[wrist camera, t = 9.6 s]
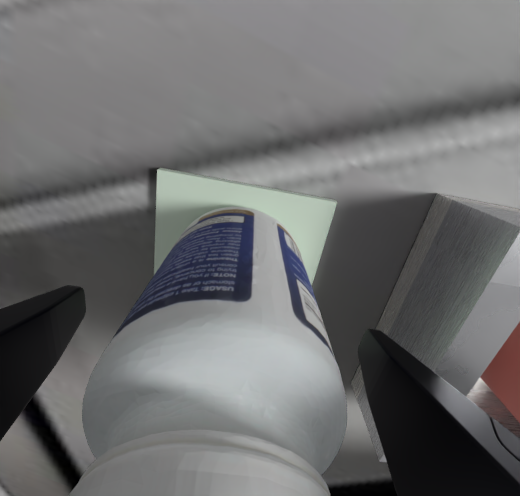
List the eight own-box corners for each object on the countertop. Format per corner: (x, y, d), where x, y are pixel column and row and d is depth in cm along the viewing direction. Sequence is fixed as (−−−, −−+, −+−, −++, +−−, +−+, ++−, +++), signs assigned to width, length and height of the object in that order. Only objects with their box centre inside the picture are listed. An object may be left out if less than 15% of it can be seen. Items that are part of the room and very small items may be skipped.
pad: (294, 332, 14) (295, 337, 14) (155, 312, 14) (152, 318, 13) (334, 199, 11) (337, 202, 11) (160, 167, 11) (157, 169, 10)
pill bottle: (161, 292, 13) (-61, 692, 4) (197, 182, 11) (-103, 495, 2) (270, 327, 14) (295, 717, 5) (322, 232, 12) (538, 606, 3)
